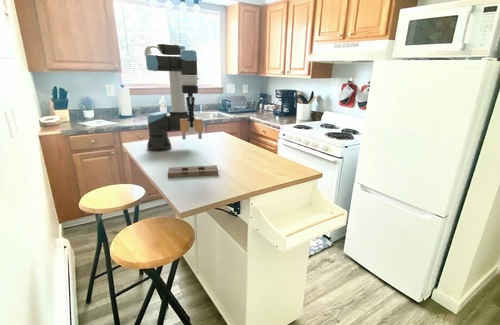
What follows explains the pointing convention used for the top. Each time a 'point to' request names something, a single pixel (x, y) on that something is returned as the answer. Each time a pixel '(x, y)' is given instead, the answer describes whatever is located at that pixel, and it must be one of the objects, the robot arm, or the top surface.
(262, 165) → the top surface
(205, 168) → the rail
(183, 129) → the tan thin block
